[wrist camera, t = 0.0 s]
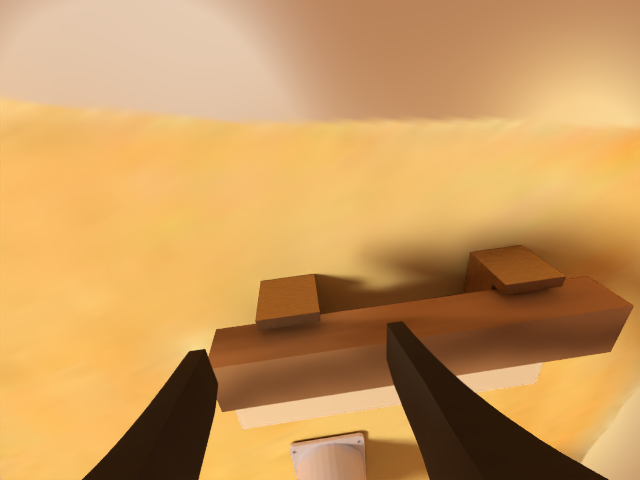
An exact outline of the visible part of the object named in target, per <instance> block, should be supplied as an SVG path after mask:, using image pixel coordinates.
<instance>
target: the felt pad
mask: <svg viewBox="0 0 640 480" xmlns="http://www.w3.org/2000/svg"><path fill="white" fill-rule="evenodd" d="M542 364H543V362H542V363H536V364H529V365H523V366H516V367H510V368H503V369H497V370H490V371H484V372H478V373H471V374H465V375H458V376H456V377H458V378H459V379H460V380H461V381H462V382H463V383H464V384H466V385H467V386H468V387H469V388H470V389H471V390H473V391H474V392H475V393H478V392H484V391H490V390H497V389H503V388H509V387H516V386H522V385H528V384H535V383H536V381H537V378H538V376H539V373H540V370H541V367H542ZM395 405H401V401H400V399H399V396H398V394H397V391H396V389H395V386H387V387H381V388H374V389H368V390H361V391H355V392H348V393H342V394H336V395H329V396H323V397H316V398H310V399H303V400H297V401H290V402H284V403H277V404H271V405H265V406H258V407H252V408H245V409H239V410H235V411H236V414H237V417H238V419H239V422H240V425H241V427H242V430H243V429H249V428H256V427H262V426H268V425H275V424H281V423H287V422H294V421H300V420H306V419H313V418H319V417H325V416H332V415H338V414H344V413H351V412H357V411H363V410H370V409H376V408H382V407H389V406H395Z"/></svg>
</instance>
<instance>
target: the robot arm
mask: <svg viewBox="0 0 640 480" xmlns="http://www.w3.org/2000/svg"><path fill="white" fill-rule="evenodd" d="M386 360H387V363H388V367H389V370H390V374H391V377H392V380H393V384H394V386H395V389H396V391H397V394H398V396H399V399H400V401H401V404H402V406H403V409H404V411H405V413H406V416H407V418H408V421H409V423H410V426H411V428H412V430H413V433H414V435H415V438H416V440H417V443H418V445H419V448H420V451H421V453H422V456H423V459H424V462H425V466H426V469H427V472H428V475H429V478H430V480H608V479H607V478H605V477H603V476H601V475H600V474H598V473H596V472H594V471H592V470H591V469H589V468H587V467H585V466H584V465H582V464H580V463H578V462H577V461H575V460H573V459H571V458H569V457H568V456H566V455H564V454H563V453H561V452H559V451H558V450H556V449H554V448H553V447H551V446H550V445H548V444H546V443H545V442H543V441H542V440H540V439H538V438H537V437H535V436H534V435H533V434H531V433H530V432H528V431H527V430H525V429H524V428H522V427H521V426H519V425H518V424H516V423H515V422H513V421H512V420H511V419H509V418H508V417H506V416H505V415H503V414H502V413H501V412H499V411H498V410H497V409H495V408H494V407H493V406H491V405H490V404H489V403H488V402H486V401H485V400H484V399H482V398H481V397H480V396H479V395H477V394H476V393H475V392H474V391H473V390H471V389H470V388H469V387H468V386H467V385H466V384H464V383H463V382H462V381H461V380H460V379H459V378H458V377H456V376H455V375H454V374H453V373H452V372H451V371H450V370H449V369H448V368H447V367H446V366H445V365H444V364H443V363H442V362H440V361H439V360H438V359H437V358H436V357H435V356H434V355H433V354H432V353H431V352H430V351H429V350H428V349H427V347H426V346H425V345H424V344H423V343H422V342H421V341H420V340H419V339H418V338H417V337H416V336H415V335H414V333H413V332H412V331H411V330H410V329H409V328H408V327H407V325H406V324H405V323H404V322H402V321H399V322H392V323H387V348H386ZM217 392H218V381H217V379H216V376H215V373H214V371H213V368H212V366H211V363H210V360H209V358H208V355H207V353H206V350H205V349H202V350H195V351H189V352H188V354H187V355H186V356H185V358H184V359H183V360H182V362H181V363H180V364H179V366H178V367H177V368H176V370H175V371H174V373H173V374H172V375H171V377H170V378H169V379H168V381H167V382H166V383H165V385H164V386H163V387H162V389H161V390H160V391H159V393H158V394H157V395H156V397H155V398H154V399H153V400H152V402H151V403H150V404H149V406H148V407H147V408H146V409H145V411H144V412H143V413H142V414H141V415H140V417H139V418H138V419H137V420H136V421H135V423H134V424H133V425H132V426H131V428H130V429H129V430H128V431H127V432H126V433H125V435H124V436H123V437H122V438H121V439H120V440H119V441H118V443H117V444H116V445H115V446H114V447H113V448H112V449H111V450H110V451H109V452H108V454H107V455H106V456H105V457H104V458H103V459H102V460H101V461H100V462H99V463H98V464H97V465H96V466H95V467H94V468H93V469H92V470H91V471H90V472H89V473H88V474H87V475H86V476H85V477H84V478H83V479H82V480H198V479H199V475H200V471H201V467H202V463H203V459H204V455H205V451H206V447H207V442H208V438H209V434H210V430H211V426H212V422H213V418H214V413H215V408H216V400H217ZM290 453H291V457H292V461H293V465H294V469H295V472H296V476H297V480H366V463H365V444H364V435H363V434H362V433H354V434H348V435H342V436H335V437H329V438H323V439H317V440H310V441H304V442H298V443H293V444H291V445H290Z"/></svg>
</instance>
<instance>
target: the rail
mask: <svg viewBox="0 0 640 480" xmlns="http://www.w3.org/2000/svg"><path fill="white" fill-rule="evenodd" d="M632 308H633V305H632V304H630V303H629V302H627V301H626V300H624V299H623V298H621V297H619V296H618V295H616V294H615V293H613V292H612V291H610V290H609V289H607V288H605V287H604V286H602V285H601V284H599V283H598V282H596V281H595V280H593V279H591V278H590V277H588V276H584V277H577V278H570V279H565V280H564V283H563V286H561V287H555V288H548V289H541V290H534V291H527V292H520V293H513V294H506V295H503V294H502V293H501V292H500V291H499V290H498V289H494V290H487V291H480V292H473V293H466V294H459V295H452V296H445V297H438V298H431V299H424V300H417V301H410V302H403V303H397V304H390V305H383V306H376V307H369V308H362V309H355V310H348V311H341V312H334V313H327V314H320V318H321V321H320V322H313V323H306V324H299V325H292V326H286V327H279V328H272V329H265V330H258V329H257V325H256V324H251V325H244V326H237V327H230V328H223V329H216V332H215V336H214V339H213V343H212V346H211V350H210V353H209V356H208V358H209V360H210V363H211V366H212V368H213V371H214V373H215V376H216V379H217V381H218V392H217V401H218V403H219V406H220V408H221V410H222V412H226V411H232V410H239V409H245V408H252V407H258V406H265V405H271V404H277V403H284V402H290V401H297V400H303V399H310V398H316V397H323V396H329V395H336V394H342V393H348V392H355V391H361V390H368V389H374V388H381V387H387V386H394V384H393V380H392V377H391V374H390V370H389V367H388V363H387V360H386V348H387V323H392V322H399V321H402V322H404V323H405V324H406V325H407V327H408V328H409V329H410V330H411V331H412V332H413V333H414V335H415V336H416V337H417V338H418V339H419V340H420V341H421V342H422V343H423V344H424V345H425V346H426V347H427V349H428V350H429V351H430V352H431V353H432V354H433V355H434V356H435V357H436V358H437V359H438V360H439V361H440V362H442V363H443V364H444V365H445V366H446V367H447V368H448V369H449V370H450V371H451V372H452V373H453V374H454V375H455V376H458V375H465V374H471V373H478V372H484V371H490V370H497V369H503V368H510V367H516V366H523V365H529V364H536V363H542V362H549V361H555V360H561V359H568V358H574V357H581V356H587V355H594V354H600V353H607V352H611V350H612V348H613V346H614V344H615V342H616V340H617V338H618V336H619V334H620V332H621V330H622V328H623V326H624V324H625V322H626V320H627V318H628V316H629V314H630V312H631V310H632Z"/></svg>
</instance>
